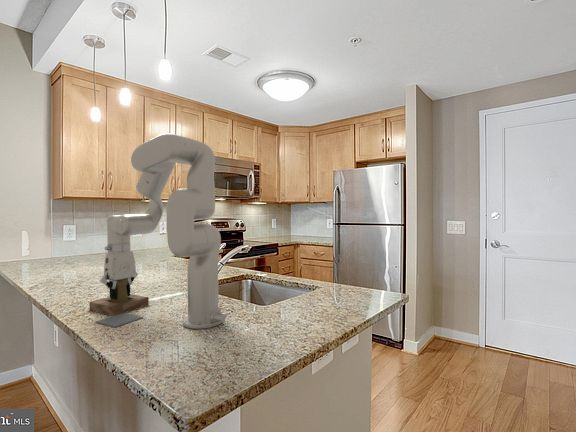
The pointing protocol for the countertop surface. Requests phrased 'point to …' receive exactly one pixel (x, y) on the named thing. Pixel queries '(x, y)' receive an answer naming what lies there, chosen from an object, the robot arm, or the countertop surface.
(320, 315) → the countertop surface
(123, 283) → the cork
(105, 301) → the socket block
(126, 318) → the rubber mat
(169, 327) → the countertop surface
